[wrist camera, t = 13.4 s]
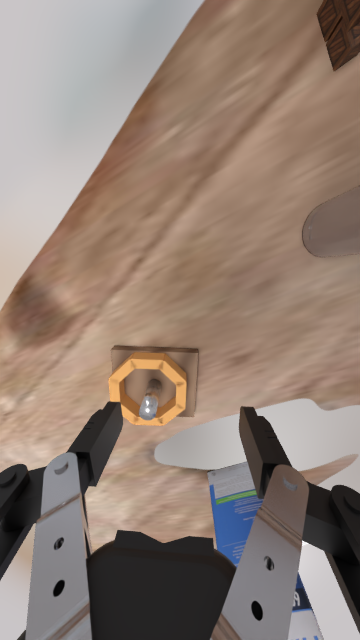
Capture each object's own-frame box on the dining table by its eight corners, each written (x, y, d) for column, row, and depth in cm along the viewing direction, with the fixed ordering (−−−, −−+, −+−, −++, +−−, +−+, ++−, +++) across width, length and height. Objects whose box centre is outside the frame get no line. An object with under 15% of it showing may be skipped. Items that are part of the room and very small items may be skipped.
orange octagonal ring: (187, 354, 37) (187, 361, 34) (184, 415, 41) (184, 426, 38) (112, 351, 37) (106, 358, 34) (117, 412, 41) (112, 423, 38)
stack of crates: (256, 26, 26) (281, -57, 19) (361, -59, 24) (430, -187, 17) (295, 135, 29) (328, 95, 22) (391, 70, 27) (459, 4, 20)
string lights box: (215, 489, 50) (246, 708, 25) (206, 470, 48) (230, 685, 23) (262, 478, 48) (346, 698, 23) (255, 457, 46) (337, 673, 22)
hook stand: (197, 348, 39) (202, 374, 29) (193, 410, 43) (196, 451, 33) (114, 345, 39) (91, 370, 29) (118, 407, 43) (100, 446, 33)
